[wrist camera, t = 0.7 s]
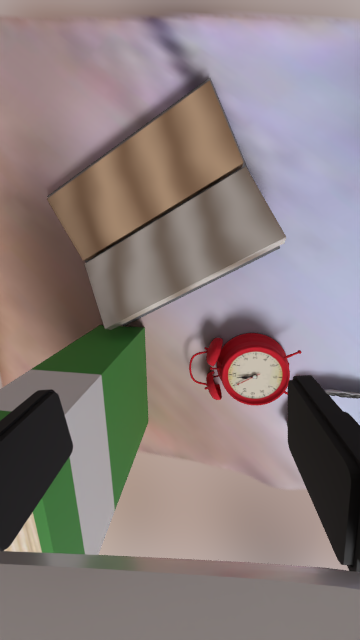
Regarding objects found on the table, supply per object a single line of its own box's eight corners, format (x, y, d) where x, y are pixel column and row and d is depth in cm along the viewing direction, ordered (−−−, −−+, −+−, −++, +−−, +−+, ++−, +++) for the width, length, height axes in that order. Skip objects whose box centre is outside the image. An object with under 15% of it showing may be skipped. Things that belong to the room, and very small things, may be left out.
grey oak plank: (246, 175, 28) (245, 166, 27) (284, 242, 26) (286, 237, 25) (91, 267, 34) (84, 264, 33) (111, 329, 32) (104, 328, 30)
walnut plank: (209, 89, 27) (209, 80, 25) (241, 166, 29) (243, 162, 27) (53, 201, 33) (46, 198, 31) (88, 260, 34) (82, 260, 33)
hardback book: (148, 421, 41) (70, 629, 19) (108, 417, 42) (-13, 610, 20) (144, 327, 37) (32, 450, 14) (99, 325, 38) (-76, 437, 15)
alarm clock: (299, 410, 33) (194, 419, 32) (277, 386, 39) (188, 393, 38) (307, 341, 30) (193, 349, 29) (282, 327, 36) (187, 333, 35)
